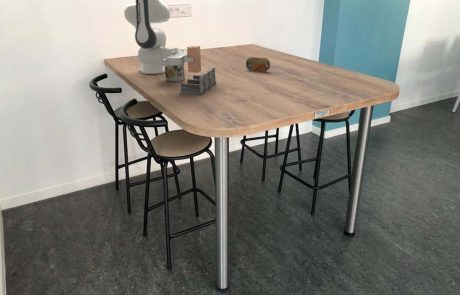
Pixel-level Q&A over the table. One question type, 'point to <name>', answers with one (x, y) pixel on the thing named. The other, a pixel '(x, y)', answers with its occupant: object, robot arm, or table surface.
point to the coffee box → (175, 73)
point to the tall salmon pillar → (196, 64)
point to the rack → (199, 83)
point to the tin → (257, 64)
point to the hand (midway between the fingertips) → (195, 58)
